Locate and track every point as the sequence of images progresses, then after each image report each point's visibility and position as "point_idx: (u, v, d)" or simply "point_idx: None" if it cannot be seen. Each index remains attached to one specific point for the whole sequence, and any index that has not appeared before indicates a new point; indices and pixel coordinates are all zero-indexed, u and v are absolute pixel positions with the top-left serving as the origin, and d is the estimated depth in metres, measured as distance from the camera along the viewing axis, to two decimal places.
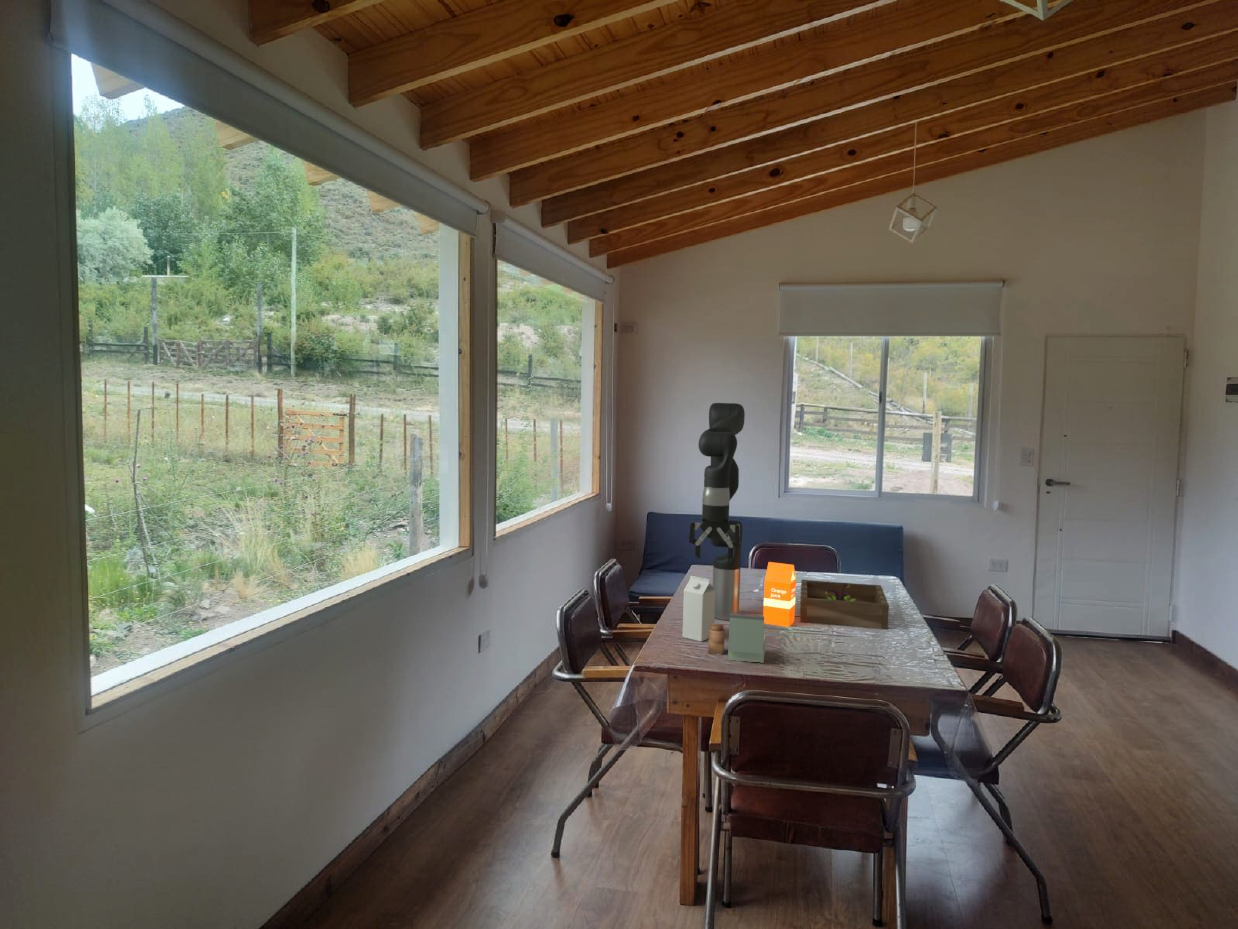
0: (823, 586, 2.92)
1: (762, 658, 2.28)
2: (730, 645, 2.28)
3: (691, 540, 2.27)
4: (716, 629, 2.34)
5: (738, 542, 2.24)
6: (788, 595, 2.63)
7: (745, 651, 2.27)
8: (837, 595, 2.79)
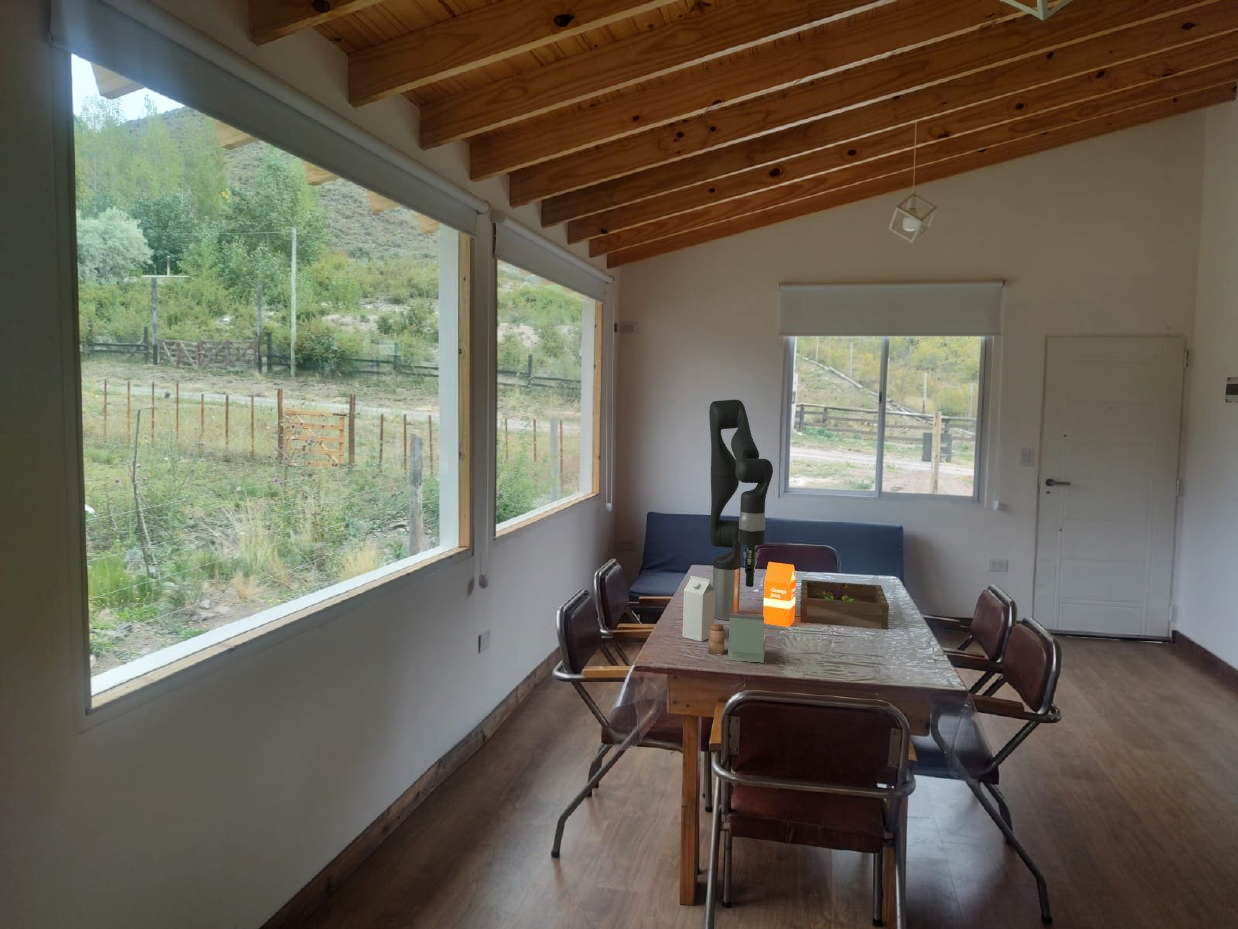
0: (823, 586, 2.92)
1: (762, 658, 2.28)
2: (730, 645, 2.28)
3: (754, 570, 2.31)
4: (716, 629, 2.34)
5: None
6: (788, 595, 2.63)
7: (745, 651, 2.27)
8: (835, 595, 2.79)
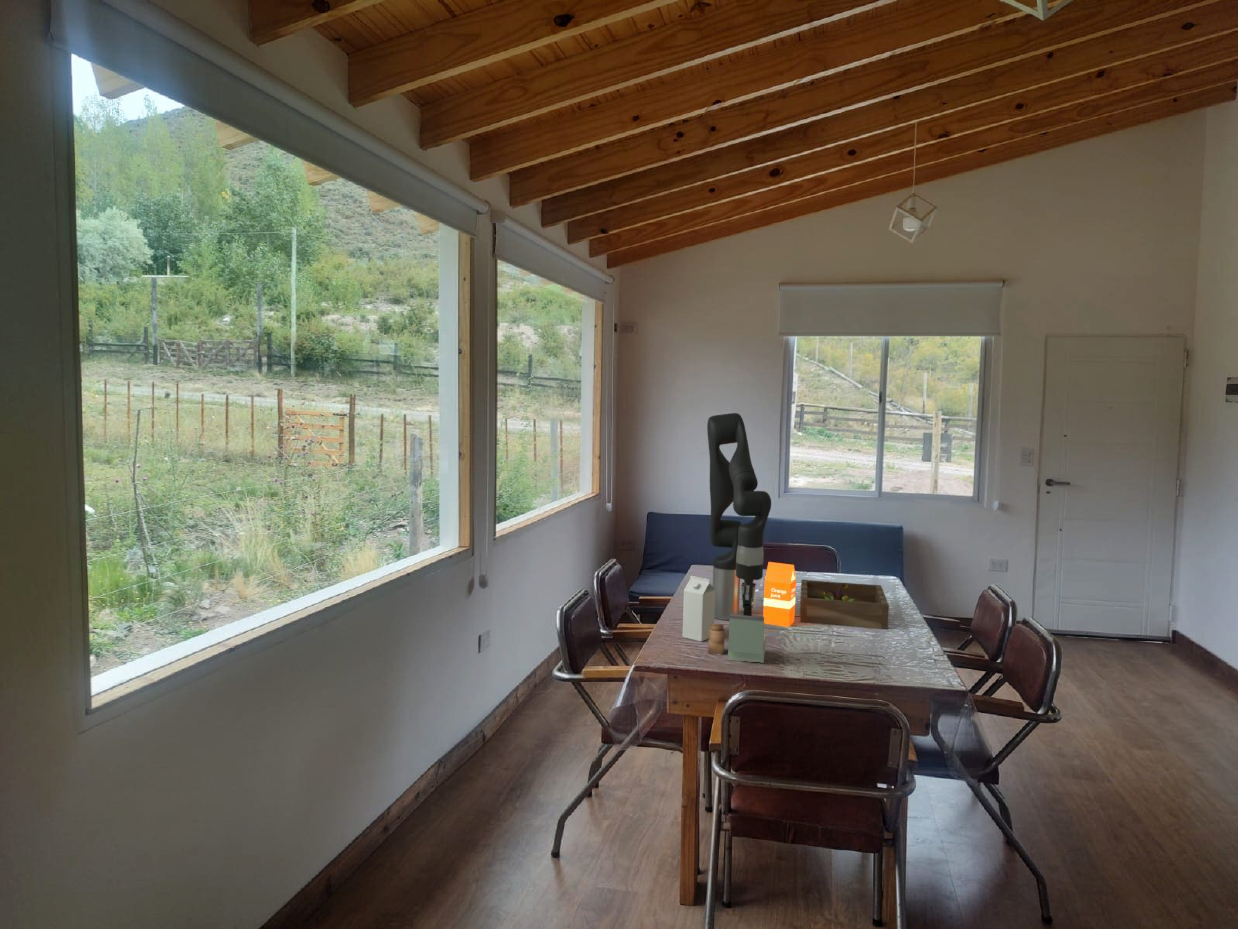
0: (823, 586, 2.92)
1: (762, 658, 2.28)
2: (730, 645, 2.28)
3: (751, 605, 2.25)
4: (716, 629, 2.34)
5: None
6: (788, 595, 2.63)
7: (745, 651, 2.27)
8: (835, 595, 2.78)
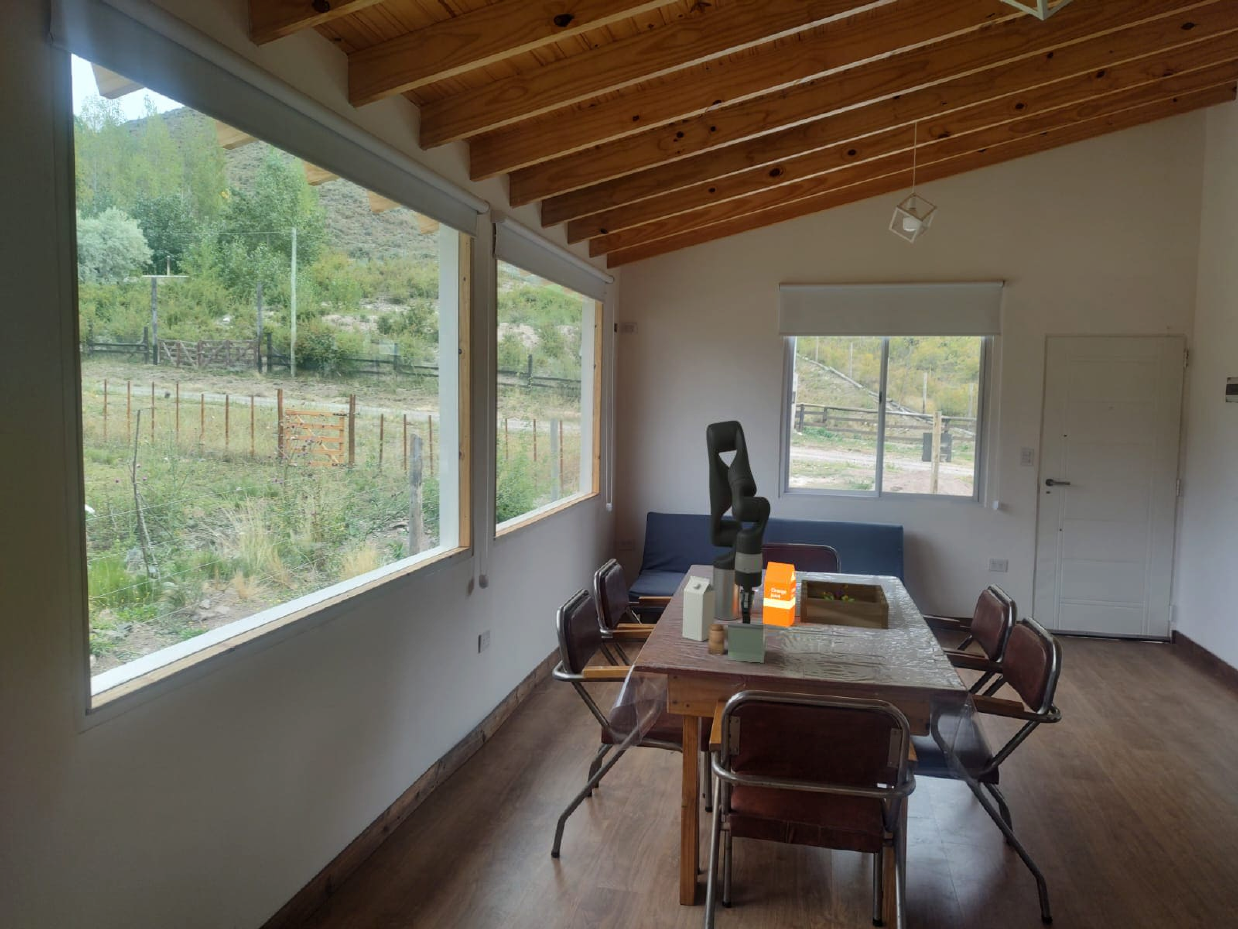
0: (823, 586, 2.92)
1: (762, 658, 2.28)
2: (730, 647, 2.27)
3: (750, 613, 2.21)
4: (716, 629, 2.34)
5: None
6: (788, 595, 2.63)
7: (745, 652, 2.27)
8: (835, 595, 2.78)
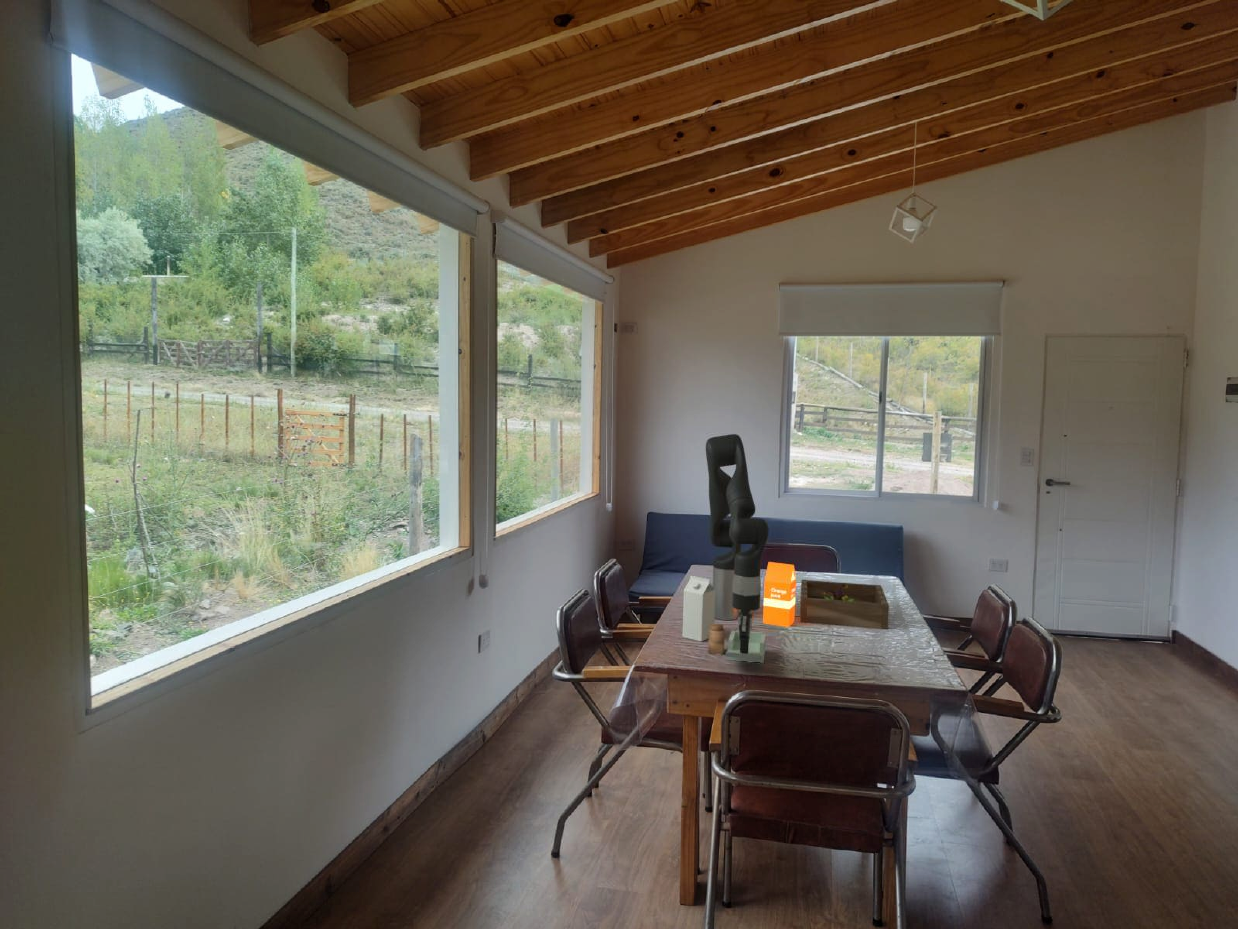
0: (823, 586, 2.92)
1: (762, 658, 2.28)
2: None
3: (748, 637, 2.17)
4: (716, 629, 2.34)
5: None
6: (788, 595, 2.63)
7: None
8: (835, 595, 2.78)
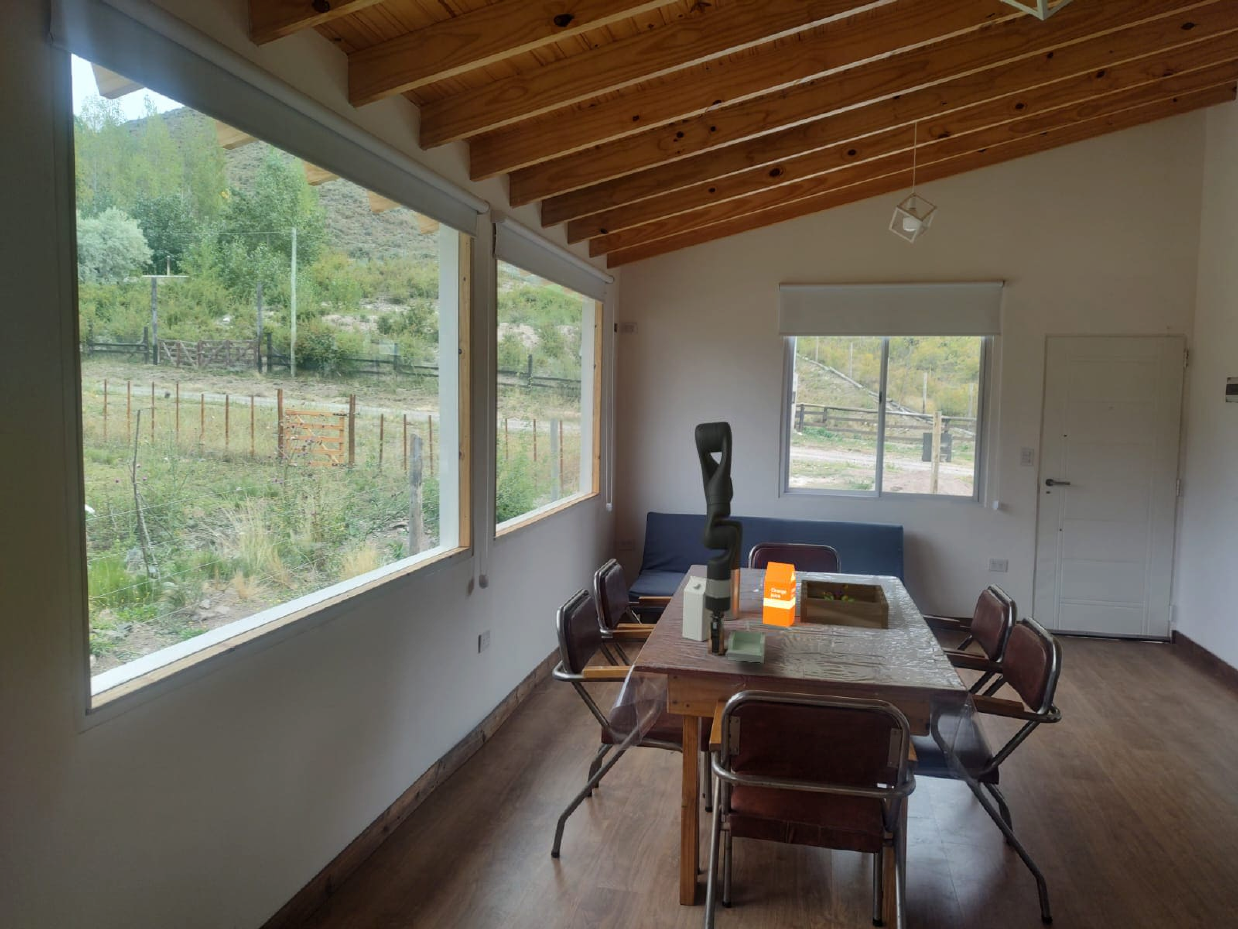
0: (823, 586, 2.92)
1: (762, 658, 2.28)
2: None
3: (719, 637, 2.31)
4: None
5: None
6: (788, 595, 2.63)
7: None
8: (835, 595, 2.78)
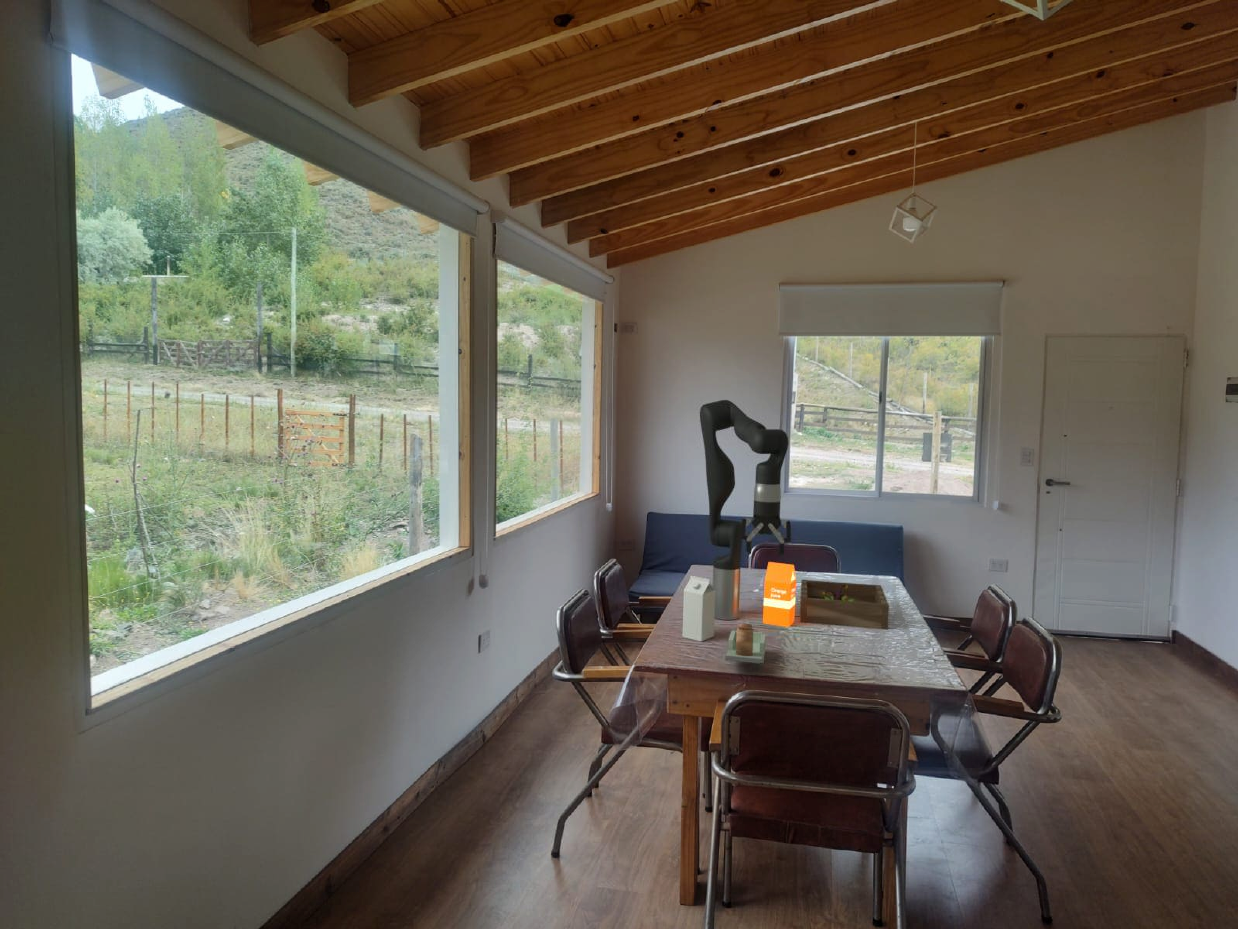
0: (823, 586, 2.92)
1: (762, 658, 2.28)
2: None
3: None
4: (751, 627, 2.22)
5: None
6: (788, 595, 2.63)
7: None
8: (835, 595, 2.78)
